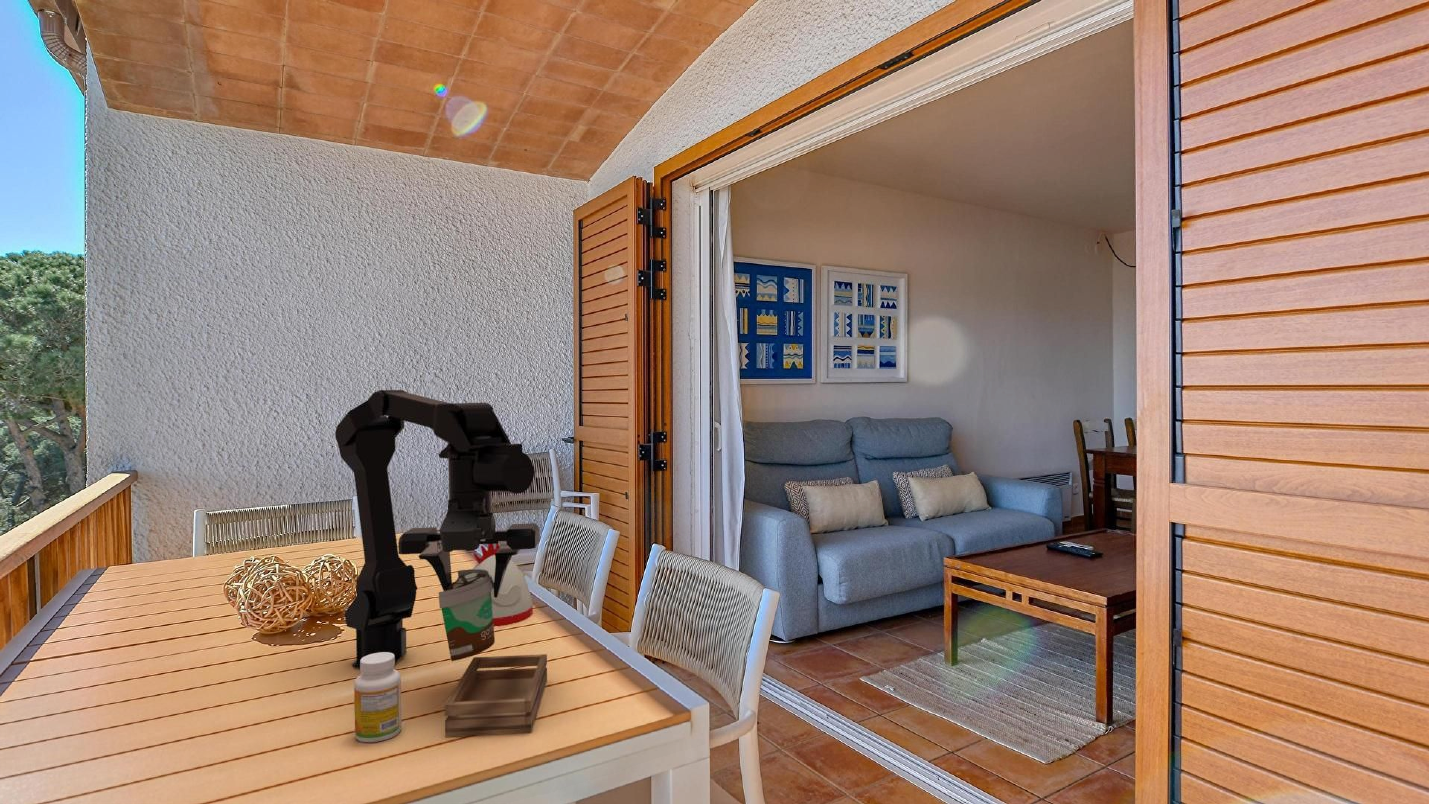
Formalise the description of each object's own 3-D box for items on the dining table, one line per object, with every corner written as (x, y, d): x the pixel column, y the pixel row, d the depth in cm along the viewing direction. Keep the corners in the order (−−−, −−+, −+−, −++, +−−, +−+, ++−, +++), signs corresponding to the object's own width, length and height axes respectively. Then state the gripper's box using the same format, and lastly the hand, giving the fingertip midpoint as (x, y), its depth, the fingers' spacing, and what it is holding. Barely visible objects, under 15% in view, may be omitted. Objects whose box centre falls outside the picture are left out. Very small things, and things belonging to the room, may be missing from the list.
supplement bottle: (364, 724, 97) (363, 650, 97) (407, 722, 97) (406, 649, 97) (347, 744, 92) (346, 666, 91) (393, 742, 92) (392, 664, 92)
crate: (445, 736, 93) (444, 705, 93) (474, 684, 110) (473, 657, 110) (531, 732, 94) (530, 700, 94) (547, 680, 111) (546, 654, 111)
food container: (494, 657, 102) (483, 585, 101) (448, 665, 101) (437, 593, 100) (509, 627, 114) (499, 563, 113) (468, 634, 113) (458, 569, 113)
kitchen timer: (543, 618, 141) (542, 539, 141) (469, 632, 133) (468, 549, 133) (517, 601, 153) (516, 528, 152) (448, 613, 145) (447, 536, 145)
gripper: (383, 500, 98) (386, 618, 98) (528, 495, 100) (531, 610, 100) (409, 489, 109) (411, 595, 109) (538, 485, 111) (541, 589, 111)
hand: (472, 598), depth 107 cm, fingers closed on food container, 6 cm apart
